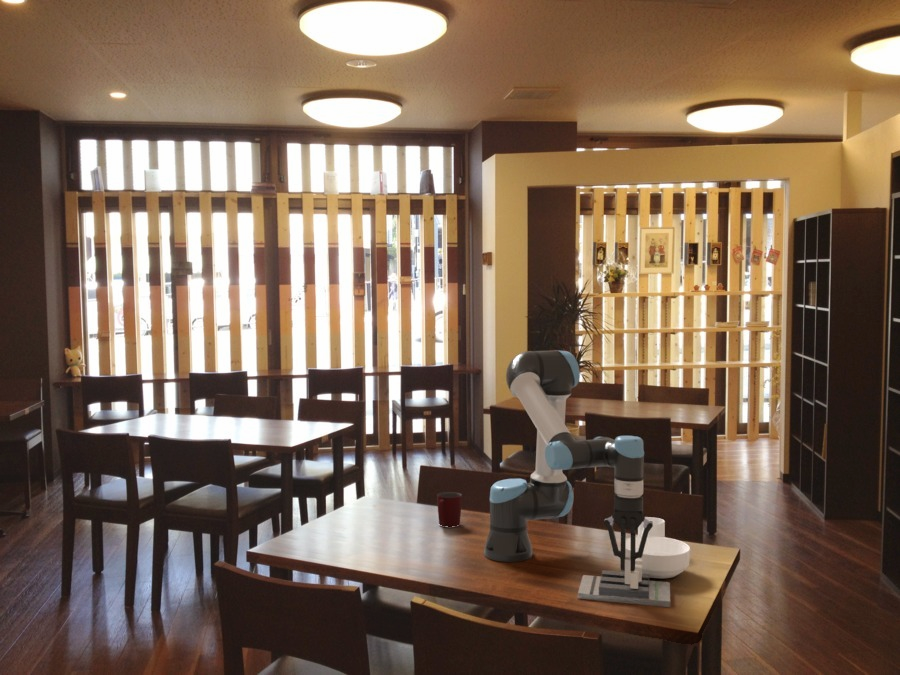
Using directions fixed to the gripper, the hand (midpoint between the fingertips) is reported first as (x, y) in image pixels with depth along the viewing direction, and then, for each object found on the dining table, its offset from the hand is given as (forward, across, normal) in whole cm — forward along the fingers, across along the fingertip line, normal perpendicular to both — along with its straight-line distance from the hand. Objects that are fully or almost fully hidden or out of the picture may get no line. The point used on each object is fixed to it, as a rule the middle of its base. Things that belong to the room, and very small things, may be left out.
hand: (627, 582), depth 214 cm
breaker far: (+1, +3, +11) cm, 11 cm away
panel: (+5, -1, +6) cm, 8 cm away
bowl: (+5, +7, +25) cm, 26 cm away
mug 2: (+5, +5, +44) cm, 44 cm away
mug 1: (+5, -65, +58) cm, 87 cm away
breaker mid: (+1, +3, +6) cm, 6 cm away
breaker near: (+1, +2, 0) cm, 2 cm away
